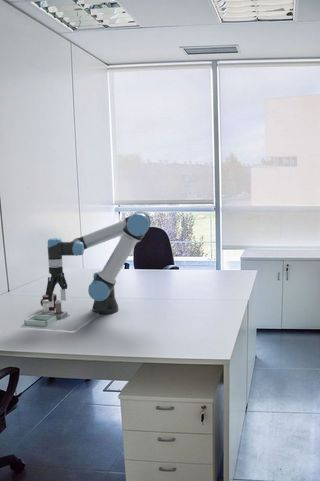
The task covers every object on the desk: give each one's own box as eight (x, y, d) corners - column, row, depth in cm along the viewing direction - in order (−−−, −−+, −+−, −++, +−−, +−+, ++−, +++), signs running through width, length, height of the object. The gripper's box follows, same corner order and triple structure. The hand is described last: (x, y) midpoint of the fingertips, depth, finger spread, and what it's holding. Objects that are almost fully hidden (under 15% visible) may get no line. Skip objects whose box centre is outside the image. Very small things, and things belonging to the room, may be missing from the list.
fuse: (50, 315, 271) (49, 299, 269) (47, 316, 267) (46, 301, 266) (45, 314, 272) (44, 299, 270) (42, 316, 268) (40, 301, 267)
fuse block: (70, 316, 269) (70, 311, 269) (63, 321, 262) (63, 315, 262) (42, 315, 275) (42, 310, 274) (35, 319, 267) (34, 314, 267)
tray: (57, 321, 261) (56, 315, 261) (47, 327, 251) (46, 321, 251) (35, 320, 265) (34, 314, 265) (24, 326, 255) (24, 320, 255)
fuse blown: (63, 315, 268) (62, 300, 267) (60, 317, 265) (59, 302, 264) (57, 315, 269) (56, 300, 268) (54, 317, 266) (53, 301, 265)
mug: (37, 313, 279) (36, 296, 278) (44, 309, 287) (43, 293, 285) (53, 314, 276) (52, 297, 275) (59, 310, 284) (58, 293, 282)
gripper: (60, 261, 276) (62, 297, 279) (37, 270, 252) (39, 309, 255) (72, 262, 274) (73, 298, 277) (50, 271, 250) (52, 310, 253)
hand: (57, 303), depth 266 cm, fingers open, 13 cm apart
